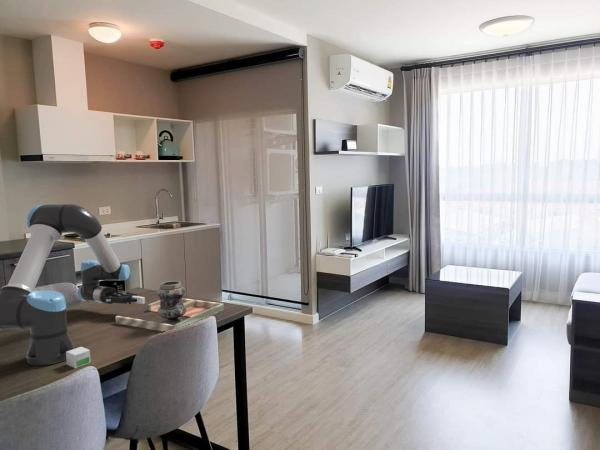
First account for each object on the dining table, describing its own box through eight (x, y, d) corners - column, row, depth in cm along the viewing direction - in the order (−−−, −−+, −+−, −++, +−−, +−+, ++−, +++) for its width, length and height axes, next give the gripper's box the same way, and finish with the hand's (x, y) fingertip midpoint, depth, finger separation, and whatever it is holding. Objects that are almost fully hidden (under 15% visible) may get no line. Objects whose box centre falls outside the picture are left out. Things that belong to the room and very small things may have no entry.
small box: (75, 369, 155) (74, 355, 154) (66, 365, 158) (65, 351, 158) (91, 363, 160) (90, 349, 159) (82, 359, 163) (81, 346, 162)
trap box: (115, 323, 201) (115, 316, 201) (170, 302, 232) (169, 296, 231) (174, 333, 187) (174, 326, 187) (223, 309, 218) (223, 303, 217)
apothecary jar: (182, 317, 208) (180, 278, 205) (191, 324, 197) (189, 283, 195) (155, 322, 201) (152, 281, 199) (162, 330, 191) (160, 287, 189)
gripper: (117, 299, 223) (154, 304, 212) (94, 306, 211) (133, 312, 201) (116, 284, 222) (153, 288, 212) (93, 290, 210) (132, 296, 200)
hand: (143, 300), depth 206 cm, fingers closed
